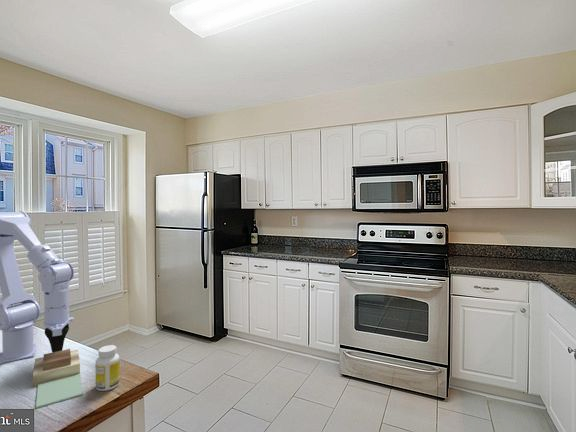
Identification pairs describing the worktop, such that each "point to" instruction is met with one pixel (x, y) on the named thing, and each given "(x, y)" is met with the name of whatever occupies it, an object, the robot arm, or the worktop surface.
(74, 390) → the green mat
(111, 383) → the supplement bottle
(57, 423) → the worktop surface
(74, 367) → the birch board
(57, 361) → the walnut coaster
